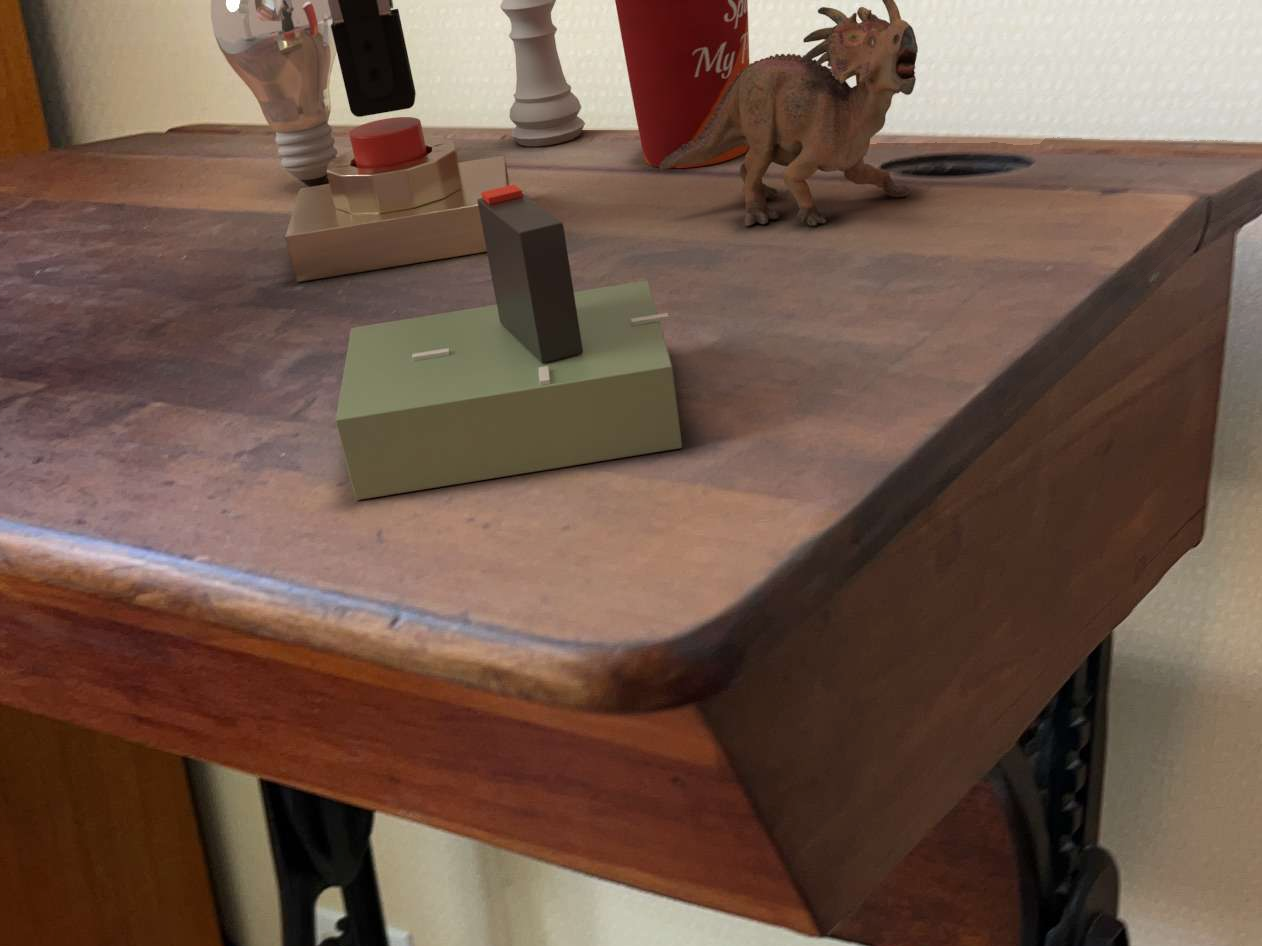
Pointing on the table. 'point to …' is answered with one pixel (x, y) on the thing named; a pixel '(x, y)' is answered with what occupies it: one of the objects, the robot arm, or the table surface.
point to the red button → (388, 142)
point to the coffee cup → (681, 67)
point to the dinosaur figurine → (812, 111)
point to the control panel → (503, 396)
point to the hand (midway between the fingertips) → (384, 108)
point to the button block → (391, 213)
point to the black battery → (530, 273)
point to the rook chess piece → (539, 78)
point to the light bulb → (285, 73)
